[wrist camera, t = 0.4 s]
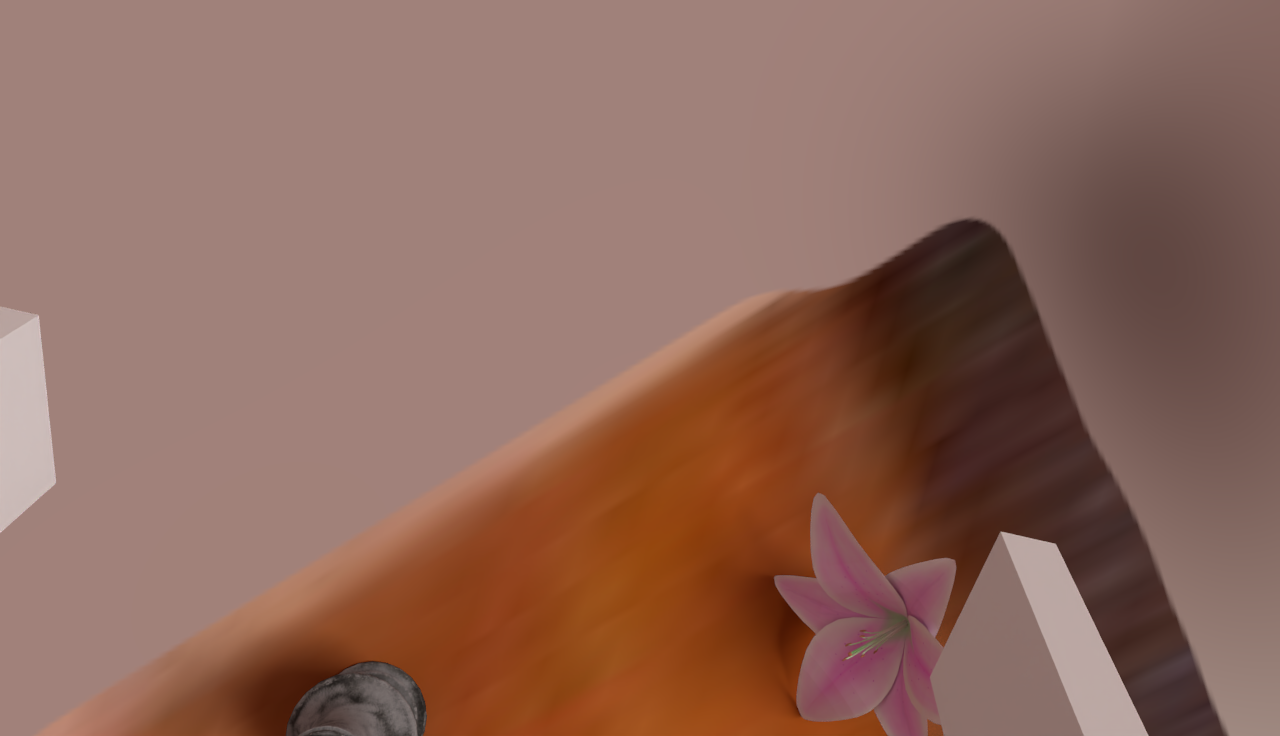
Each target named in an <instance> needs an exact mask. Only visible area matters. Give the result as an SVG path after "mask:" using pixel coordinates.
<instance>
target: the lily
mask: <svg viewBox="0 0 1280 736" xmlns="http://www.w3.org/2000/svg"><path fill="white" fill-rule="evenodd" d="M810 536H811V556H812V564H813V569H814V572H815V575H816V578H811V577H803V576H793V575H776V576H775V577H774V580H775V586H776V587H777V589H778V591H779V592H780V594H781V595H782V597H783V598H784V599H785V601H786V602H787V603H788V605H789V606H790V607H791V608H792V610H793V611H794V612H795V613H796V614H797V615H798V616H799V618H800V619H801V620H802V621H803V622H804V623H805V624H806V625H807V626H808V627H809V628H810V629H811V630H812V631H813V632H815V633H816V635H815V636H814V637H813V639H812V641H811V643H810V644H809V646H808V648H807V650H806V653H805V656H804V659H803V662H802V665H801V670H800V675H799V680H798V687H797V696H796V697H797V707H798V710H799V712H800V715H801V716H802V717H803V718H804V719H806V720H810V721H837V720H845V719H850V718H855V717H858V716H861V715H863V714H866V713H868V712H870V711H871V710H872V709H873V708H874V711H875V713H876V715H877V717H878V719H879V721H880V723H881V725H882V727H883V729H884V730H885V732H886V733H887V735H888V736H928V729H927V719H929V720H930V721H932V722H933V723H936V724H939V725H941V721H940V717H939V713H938V709H937V705H936V701H935V697H934V692H933V688H932V684H931V680H930V676H931V674H932V671H933V669H934V667H935V665H936V663H937V661H938V659H939V657H940V655H941V653H942V651H943V649H944V648H943V647H942V646H941V644H940V643H939V642H938V641H937V640H936V638H935V636H936V634H937V632H938V630H939V627H940V625H941V622H942V619H943V617H944V614H945V610H946V607H947V604H948V601H949V597H950V594H951V590H952V586H953V582H954V578H955V572H956V564H955V560H952V559H949V558H943V559H935V560H930V561H926V562H921V563H917V564H914V565H910V566H907V567H903V568H901V569H898V570H896V571H893V572H891V573H889V574H888V575H886V576H884V575H883V574H882V572H881V571H880V570H879V569H878V568H877V566H876V565H875V564H874V563H873V561H872V560H871V559H870V558H869V556H868V555H867V554H866V553H865V551H864V550H863V549H862V547H861V546H860V545H859V543H858V542H857V540H856V539H855V538H854V536H853V535H852V533H851V532H850V530H849V529H848V527H847V526H846V525H845V523H844V522H843V520H842V519H841V517H840V516H839V514H838V513H837V511H836V510H835V508H834V507H833V506H832V505H831V503H830V502H829V501H828V500H827V498H826V497H825V496H824V495H822V494H820V493H817V495H816V496H815V497H814V500H813V505H812V511H811V528H810Z"/></svg>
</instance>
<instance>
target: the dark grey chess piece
mask: <svg viewBox="0 0 1280 736" xmlns="http://www.w3.org/2000/svg"><path fill="white" fill-rule="evenodd" d="M426 718H427V715H426V706H425V701H424V698H423V696H422V693H421V691H420V688H419V687H418V686H417V684H416V683H415V682H414V680H413V679H412V678H411V677H410V676H409V675H408V674H406V673H405V672H404V671H403V670H401V669H400V668H397V667H395V666H393V665H390V664H388V663H382V662H374V661H372V662H365V663H358V664H356V665H354V666H351V667H349V668H346V669H345V670H343V671H342V672H341V673H340V674H338V675H335V676H333V677H330V678H328V679H326V680H323V681H321V682H319V683H318V684H317V685H315V686H314V687H313V688H311V689H310V690H309V691H308V692H306V693H305V695H304V696H303V697H302V698H301V700H300V701H299V702H298V703H297V705H296V706H295V708H294V710H293V712H292V715H291V717H290V719H289V721H288V725H287V731H286V736H423V734H424V731H425V725H426Z"/></svg>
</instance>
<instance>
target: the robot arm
mask: <svg viewBox="0 0 1280 736" xmlns="http://www.w3.org/2000/svg"><path fill="white" fill-rule="evenodd" d="M54 484H56V478H55V468H54V458H53V449H52V439H51V430H50V420H49V410H48V402H47V391H46V381H45V371H44V362H43V352H42V343H41V333H40V324H39V315H36V314H32V313H27V312H23V311H18V310H13V309H9V308H5V307H0V532H2V531H3V530H4V529H5V528H6V527H7V526H8V525H9V524H10V523H12V522H13V521H14V520H15V519H16V518H17V517H18V516H20V515H21V514H22V513H23V512H24V511H25V510H26V509H27V508H28V507H30V506H31V505H32V504H33V503H34V502H35V501H36V500H38V499H39V498H40V497H41V496H42V495H43V494H44V493H45V492H47V491H48V490H49V489H50V488H51V487H52V486H53V485H54ZM930 680H931V684H932V688H933V692H934V697H935V701H936V705H937V709H938V713H939V717H940V721H941V725H942V729H943V733H944V736H1148V734H1147V732H1146V730H1145V728H1144V726H1143V724H1142V722H1141V719H1140V717H1139V715H1138V713H1137V711H1136V709H1135V707H1134V705H1133V703H1132V701H1131V699H1130V697H1129V695H1128V693H1127V691H1126V688H1125V686H1124V684H1123V682H1122V680H1121V678H1120V676H1119V674H1118V672H1117V670H1116V668H1115V666H1114V664H1113V662H1112V659H1111V657H1110V655H1109V653H1108V651H1107V649H1106V647H1105V645H1104V643H1103V641H1102V639H1101V637H1100V635H1099V633H1098V631H1097V628H1096V626H1095V624H1094V622H1093V620H1092V618H1091V616H1090V614H1089V612H1088V610H1087V608H1086V606H1085V604H1084V602H1083V600H1082V597H1081V595H1080V593H1079V591H1078V589H1077V587H1076V585H1075V583H1074V581H1073V579H1072V577H1071V575H1070V573H1069V571H1068V568H1067V566H1066V564H1065V562H1064V560H1063V558H1062V556H1061V554H1060V552H1059V550H1058V548H1057V546H1056V544H1053V543H1049V542H1045V541H1040V540H1036V539H1031V538H1027V537H1022V536H1018V535H1014V534H1009V533H1005V532H1000V534H999V536H998V538H997V540H996V542H995V544H994V546H993V548H992V550H991V552H990V554H989V556H988V558H987V560H986V563H985V565H984V567H983V569H982V571H981V573H980V575H979V577H978V579H977V581H976V583H975V585H974V587H973V589H972V591H971V593H970V595H969V597H968V600H967V602H966V604H965V606H964V608H963V610H962V612H961V614H960V616H959V618H958V620H957V622H956V624H955V626H954V628H953V630H952V632H951V634H950V637H949V639H948V641H947V643H946V645H945V647H944V649H943V651H942V653H941V655H940V657H939V659H938V661H937V663H936V665H935V667H934V669H933V671H932V674H931V676H930Z"/></svg>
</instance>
